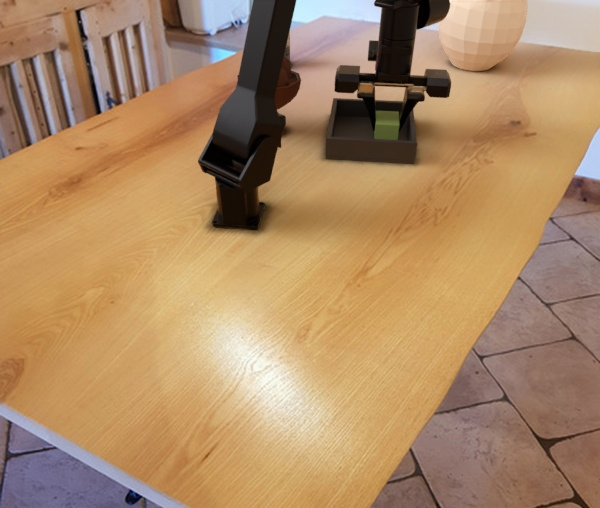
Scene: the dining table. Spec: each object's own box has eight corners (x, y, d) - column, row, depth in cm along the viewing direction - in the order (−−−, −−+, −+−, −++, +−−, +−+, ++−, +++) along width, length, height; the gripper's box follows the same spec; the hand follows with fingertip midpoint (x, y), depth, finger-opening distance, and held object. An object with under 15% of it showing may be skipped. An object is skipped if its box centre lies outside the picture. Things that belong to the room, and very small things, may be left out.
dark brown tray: (414, 163, 90) (417, 143, 87) (325, 158, 91) (326, 138, 89) (409, 120, 103) (412, 101, 101) (332, 116, 104) (333, 97, 102)
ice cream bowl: (294, 146, 94) (294, 55, 85) (232, 140, 96) (225, 50, 86) (306, 121, 102) (307, 35, 92) (248, 116, 104) (244, 31, 94)
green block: (397, 142, 94) (399, 125, 92) (374, 140, 95) (375, 124, 93) (396, 127, 99) (398, 111, 97) (374, 126, 99) (375, 110, 97)
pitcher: (427, 73, 123) (447, -59, 106) (436, 49, 136) (455, -72, 120) (513, 82, 119) (548, -54, 102) (514, 56, 132) (545, -67, 116)
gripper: (452, 24, 91) (436, 115, 102) (340, 19, 93) (336, 110, 103) (459, 43, 83) (441, 141, 93) (336, 38, 85) (332, 135, 95)
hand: (386, 130), depth 96 cm, fingers closed on green block, 4 cm apart
